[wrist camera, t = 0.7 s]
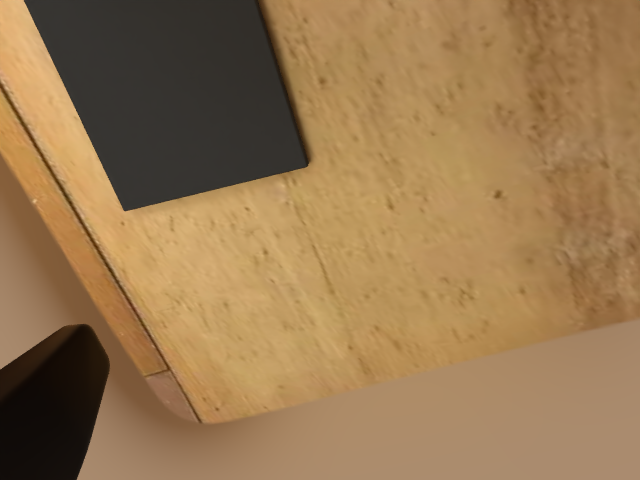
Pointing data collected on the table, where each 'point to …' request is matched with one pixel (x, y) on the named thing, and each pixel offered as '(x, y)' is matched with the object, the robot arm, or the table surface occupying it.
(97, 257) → the table surface
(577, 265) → the table surface
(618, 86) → the table surface
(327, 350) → the table surface
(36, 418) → the robot arm
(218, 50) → the mat
